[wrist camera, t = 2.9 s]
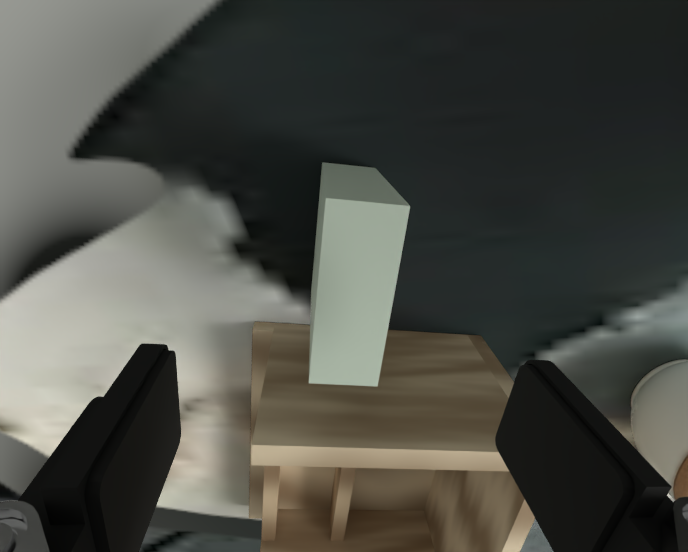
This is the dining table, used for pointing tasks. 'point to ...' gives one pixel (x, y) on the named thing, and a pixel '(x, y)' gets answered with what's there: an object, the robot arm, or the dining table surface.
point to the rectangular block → (354, 274)
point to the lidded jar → (664, 423)
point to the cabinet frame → (382, 449)
